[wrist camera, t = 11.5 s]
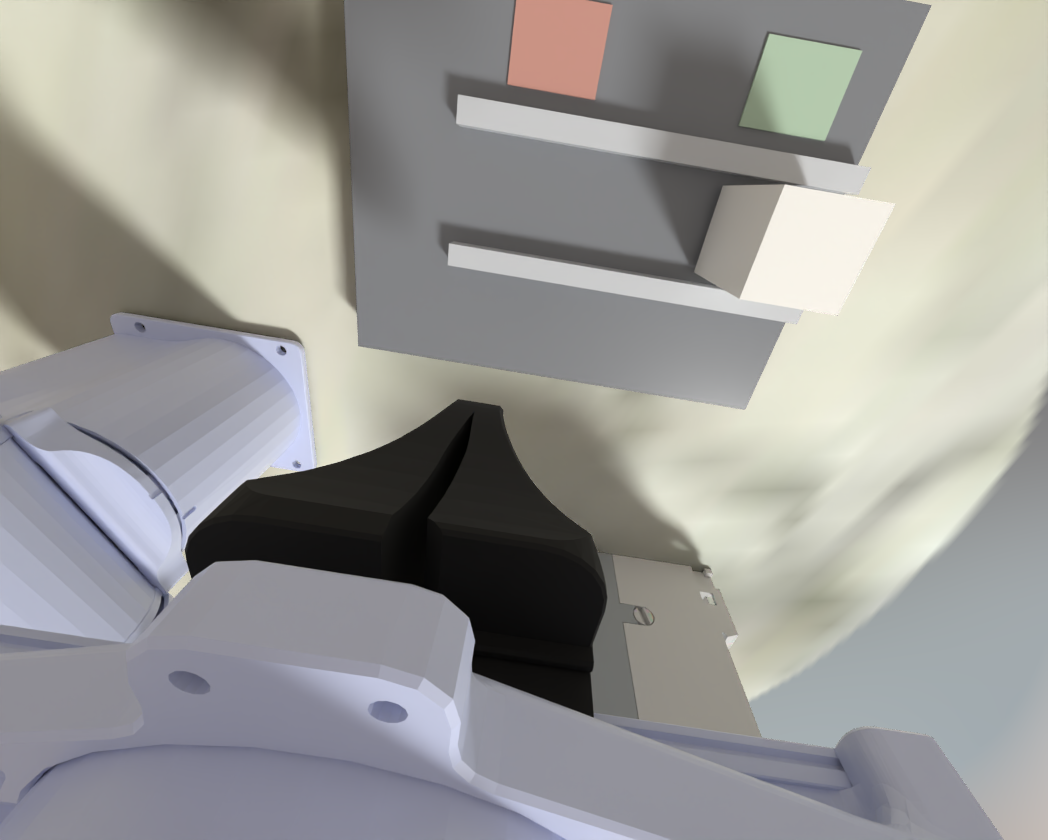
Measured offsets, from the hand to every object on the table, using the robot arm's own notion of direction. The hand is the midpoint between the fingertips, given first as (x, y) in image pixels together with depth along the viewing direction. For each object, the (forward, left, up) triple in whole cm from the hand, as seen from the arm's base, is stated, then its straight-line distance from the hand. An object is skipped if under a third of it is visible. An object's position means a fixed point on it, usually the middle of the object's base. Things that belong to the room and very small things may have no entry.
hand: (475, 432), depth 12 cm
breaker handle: (+9, +6, -7) cm, 13 cm away
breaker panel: (+2, +6, -9) cm, 11 cm away
